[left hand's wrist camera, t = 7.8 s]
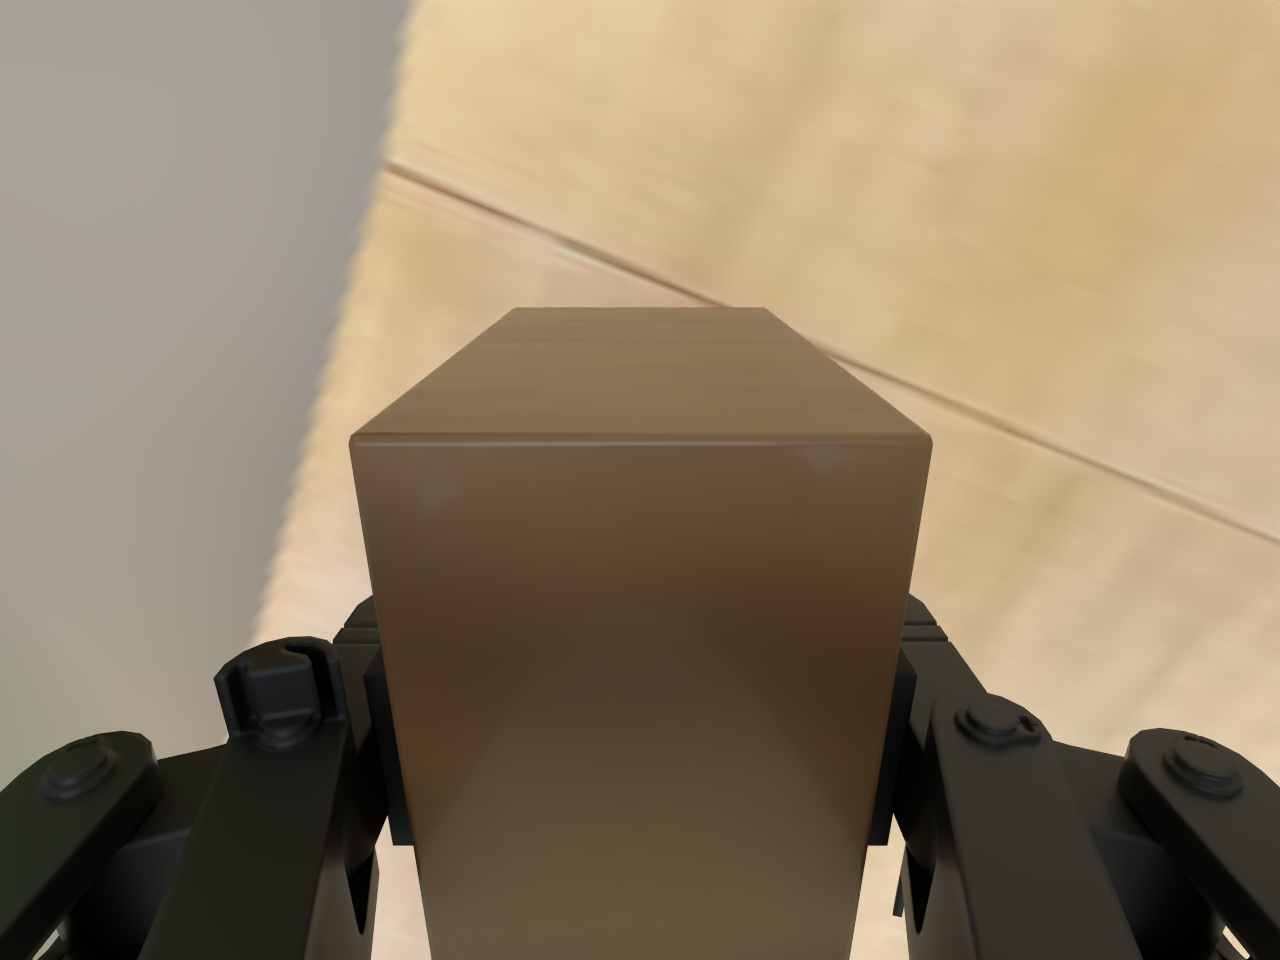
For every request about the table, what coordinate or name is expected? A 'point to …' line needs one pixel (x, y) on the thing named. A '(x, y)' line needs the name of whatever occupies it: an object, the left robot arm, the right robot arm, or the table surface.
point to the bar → (640, 632)
